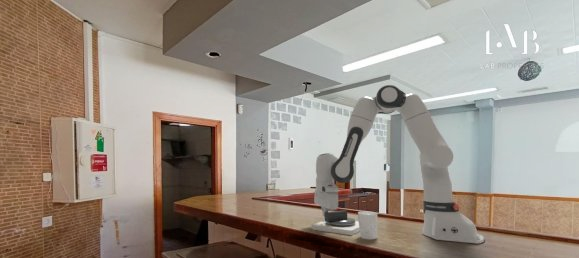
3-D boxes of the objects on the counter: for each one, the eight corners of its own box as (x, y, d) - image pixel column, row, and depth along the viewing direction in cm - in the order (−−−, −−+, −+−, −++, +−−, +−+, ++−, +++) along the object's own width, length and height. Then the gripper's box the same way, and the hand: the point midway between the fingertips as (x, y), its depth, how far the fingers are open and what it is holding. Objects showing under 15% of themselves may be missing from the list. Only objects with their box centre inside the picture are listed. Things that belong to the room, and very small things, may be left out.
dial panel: (368, 226, 136) (368, 222, 137) (351, 235, 120) (351, 230, 121) (331, 221, 148) (331, 217, 148) (311, 229, 132) (311, 224, 132)
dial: (342, 219, 144) (342, 208, 145) (361, 224, 132) (361, 212, 132) (317, 222, 136) (317, 210, 137) (335, 228, 124) (335, 215, 125)
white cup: (379, 236, 119) (378, 212, 120) (377, 240, 112) (375, 215, 113) (360, 234, 122) (359, 210, 123) (357, 238, 115) (356, 213, 116)
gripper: (311, 185, 144) (311, 212, 142) (327, 189, 125) (327, 221, 123) (322, 185, 146) (322, 212, 144) (340, 188, 126) (340, 220, 125)
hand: (325, 216), depth 133 cm, fingers closed
